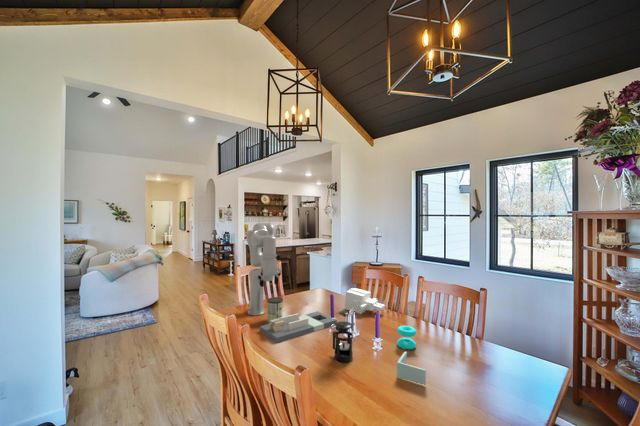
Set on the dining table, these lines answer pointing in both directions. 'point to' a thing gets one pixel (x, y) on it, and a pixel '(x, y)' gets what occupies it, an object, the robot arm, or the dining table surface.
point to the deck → (298, 326)
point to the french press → (343, 346)
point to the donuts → (406, 332)
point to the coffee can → (274, 308)
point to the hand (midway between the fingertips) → (269, 285)
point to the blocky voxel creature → (361, 301)
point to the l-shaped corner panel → (410, 371)
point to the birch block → (277, 325)
